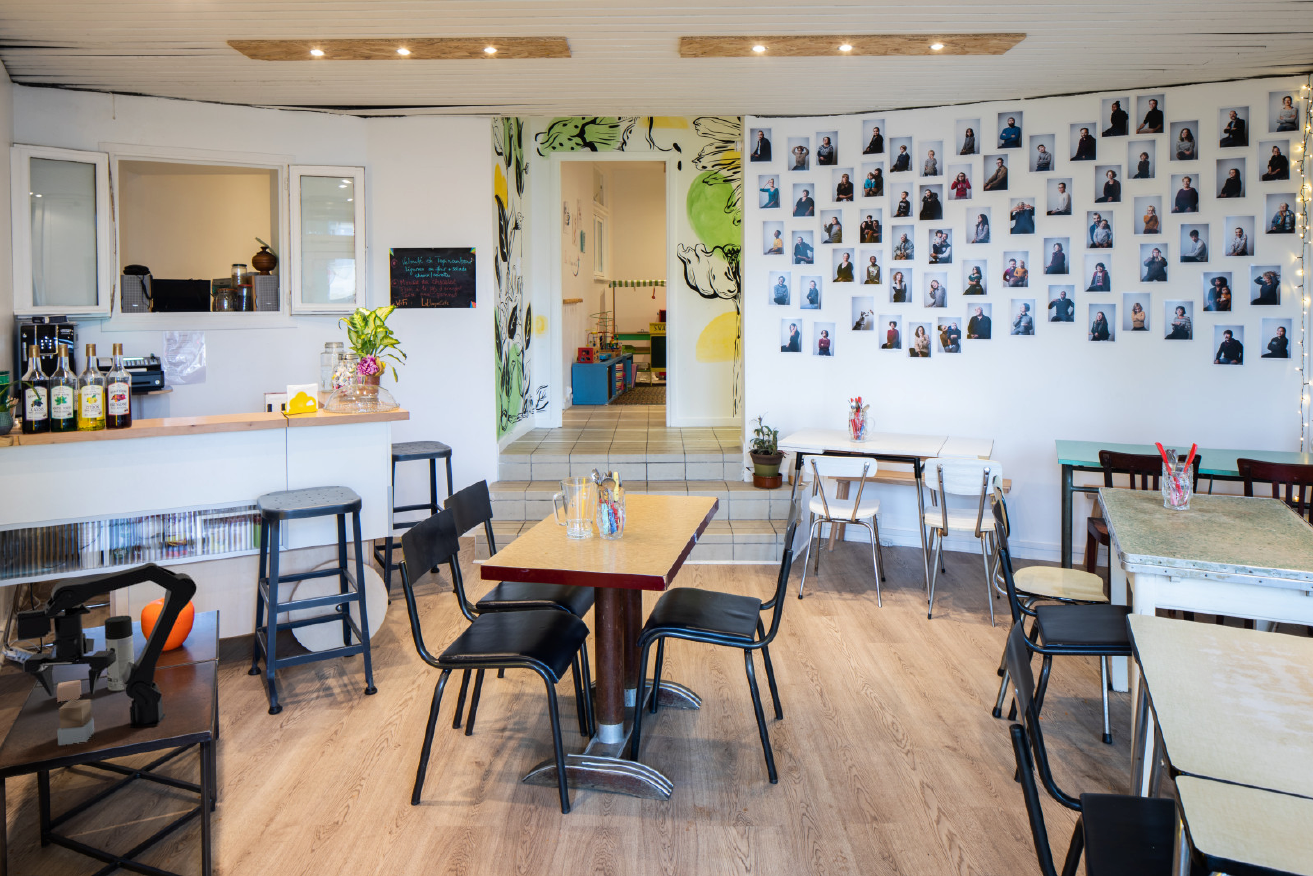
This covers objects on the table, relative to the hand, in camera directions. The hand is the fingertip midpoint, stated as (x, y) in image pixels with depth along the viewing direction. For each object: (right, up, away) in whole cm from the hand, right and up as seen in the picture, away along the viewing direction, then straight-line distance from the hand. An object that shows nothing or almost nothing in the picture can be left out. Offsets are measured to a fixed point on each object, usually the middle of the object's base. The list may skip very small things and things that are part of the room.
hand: (72, 694), depth 223 cm
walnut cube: (0, -7, +1) cm, 7 cm away
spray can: (-7, -8, +33) cm, 35 cm away
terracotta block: (-17, -8, +26) cm, 32 cm away
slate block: (0, -11, +1) cm, 11 cm away
